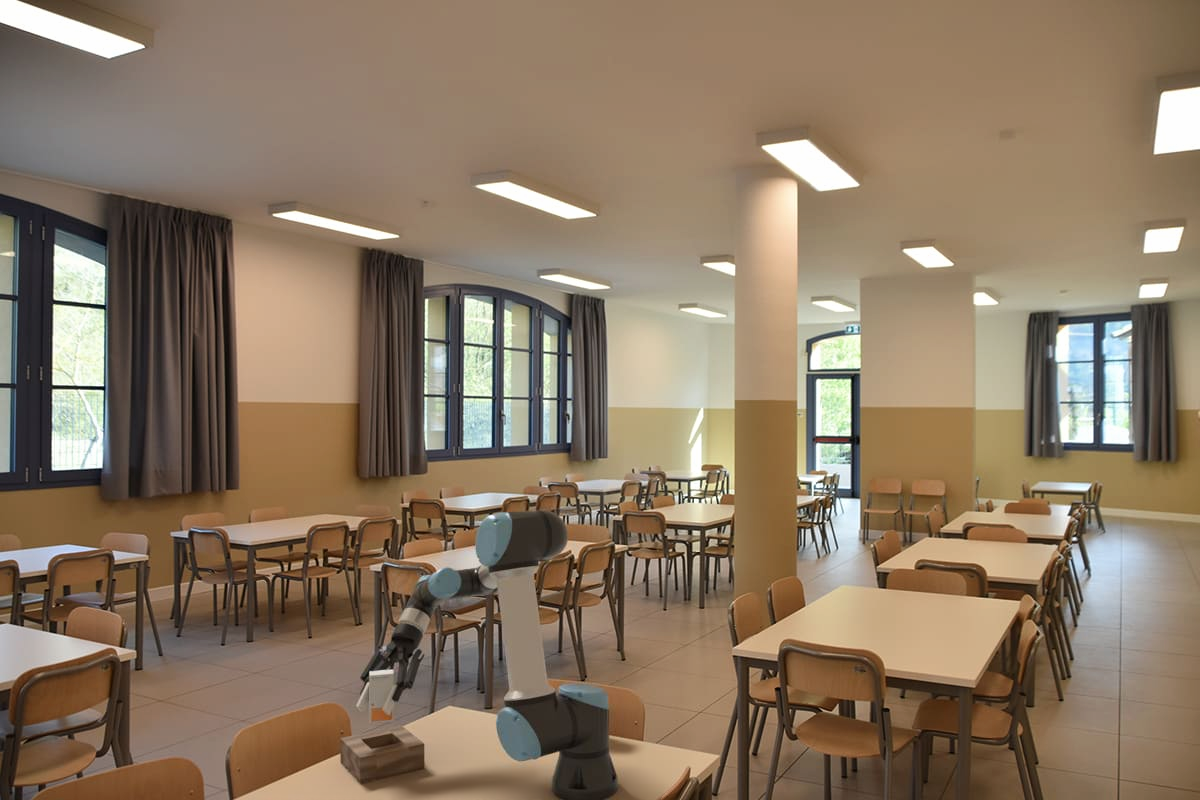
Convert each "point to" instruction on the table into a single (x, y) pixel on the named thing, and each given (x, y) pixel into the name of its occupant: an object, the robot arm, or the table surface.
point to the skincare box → (380, 695)
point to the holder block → (381, 753)
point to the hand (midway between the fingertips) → (372, 710)
